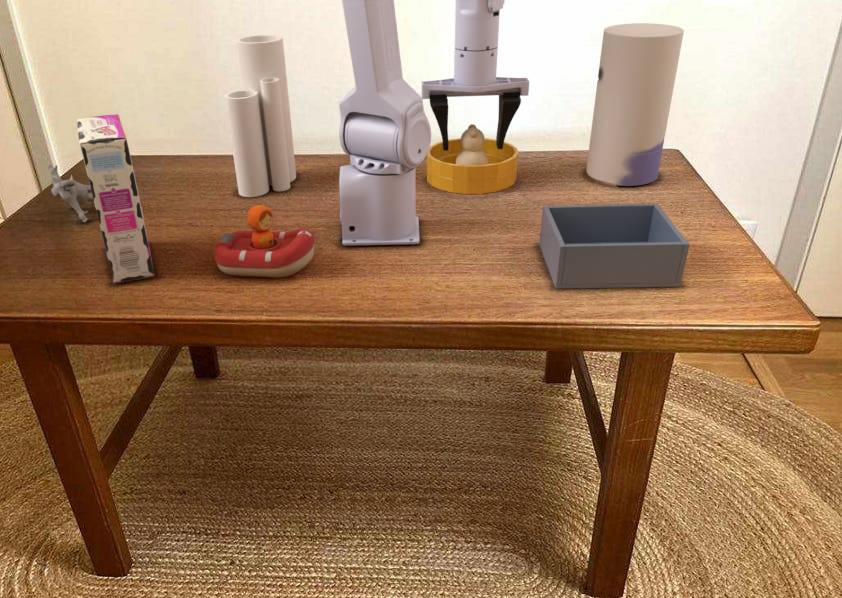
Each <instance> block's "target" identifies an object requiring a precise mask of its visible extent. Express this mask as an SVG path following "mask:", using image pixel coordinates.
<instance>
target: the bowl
mask: <svg viewBox="0 0 842 598" xmlns="http://www.w3.org/2000/svg"><path fill="white" fill-rule="evenodd" d="M484 138H485V141H484V145H483V147H482V148H481V149H482V150H483V151H484V152H485V154H486V156H487V159H488V164H486V165H458V164H456V158H457V156H458V154H459V153H460V152H461V151H462V150H463V147H462V145H461V137H459V138H452V139H448V143H449V146H448V151H444V150H443V141H442V140H441V141H438V142H436V143H434V144H432V145H430V147H429V150H428V153H427V155H426V182H427V183H428V184H429V185H430V186H431V187H433V188H435V189H438V190H440V191H443V192H448V193H452V194H460V195H461V194H462V195H482V194H490V193H496V192H497V193H498V192H499V191H504V190H506V189H508V188H510V187H512V186H513V185H515V183H516V181H517V180H518V168H519V167H518V166H519V154H520V153H519V150H518V148H517V147H516V146H515V145H513V144H512V143H509V142H506V141H504V144H503V149H498V148H497V145H496V139H493V138H486V137H484Z"/></svg>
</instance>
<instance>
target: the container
mask: <svg viewBox="0 0 842 598" xmlns="http://www.w3.org/2000/svg"><path fill="white" fill-rule="evenodd" d="M684 33H685V30H684V29H683V28H682V27H679V26H676V25H671V24H664V23H652V22H651V23H650V22H648V23H647V22H639V23H637V22H632V23H621V24H614V25H610V26H607V27H605V28H604V29H603V35H602V41H601V51H600V56H599V67H598V73H597V74H598V75H597V83H596V90H595V97H594V98H595V99H594V106H593V115H592V123H591V130H590V137H589V138H590V139H589V146H588V147H589V148H588V154H587V161H586V162H587V163H586V169H585V171H586V174H587V175H588V176H589V177H591V178H592V179H595V180H597V181H600V182H603V183H609V184H615V185H616V186H618V187H622V186H623V187H633V186H634V187H635V186H636V187H637V186H644V185H647V184H650V183H652V182H655V181H656V180H657V179H658V176H659V172H660V171H659V170H660V166H661V159H662V155H663V150H664V143H665V137H666V132H667V128H668V127H667V126H668V122H669V116H670V111H671V105H672V99H673V93H674V87H675V83H676V77H677V76H676V75H677V71H678V66H679V60H680V54H681V49H682V45H683V44H682V43H683V39H684Z"/></svg>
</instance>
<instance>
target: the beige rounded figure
mask: <svg viewBox="0 0 842 598" xmlns="http://www.w3.org/2000/svg"><path fill="white" fill-rule="evenodd" d="M460 138H461V145H462V147H463V150H462V151H461V152H460V153H459V154H458V156H457V158H456V164H458V165H486V164H488V159H487V156H486V154H485V152H484V151H483V150H482V149H481V148H482V147H483V145H484V141H485V138H486V137H485V134H484V133H483V131H482V130H481V129H480V128H477V126H476V124H474V123H473V124H472V123H471V124H469V125H468V127H467V129H466V130H464V131H463V132H462V133H461V137H460Z"/></svg>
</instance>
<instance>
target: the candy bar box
mask: <svg viewBox="0 0 842 598" xmlns="http://www.w3.org/2000/svg"><path fill="white" fill-rule="evenodd" d="M76 123H77V135H78V143H79V146H80V150H81V155H82V158H83V162H84V167H85V171H86V174H87V179H88V183H89V185H90V187H91V191H92V195H93V199H94V201H93V202H94V203H93V204H94V207H95V212H96V215H97V219H98V223H99V227H100V228H99V229H100V232H101V236H102V240H103V243H104V248H105V253H106V257H107V261H108V264H109V268H110V273H111V277H112V283H113V284H118V283H125V282H132V281H137V280H138V281H139V280H143V279H148V278H152V277H155V275H156V274H155V270H154V265H153V258H152V253H151V249H150V243H149V238H148V234H147V233H148V232H147V228H146V223H145V219H144V213H143V207H142V204H141V199H140V198H141V197H140V194H139V189H138V185H137V180H136V174H135V171H134V165H133V161H132V157H131V152H130V147H129V143H128V140H127V139H128V138H127V136H126V132H125V131H124V127H123V124H122V121H121V117H120V115H119V114H105V115H95V116H89V117H81V118H77V119H76Z"/></svg>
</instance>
